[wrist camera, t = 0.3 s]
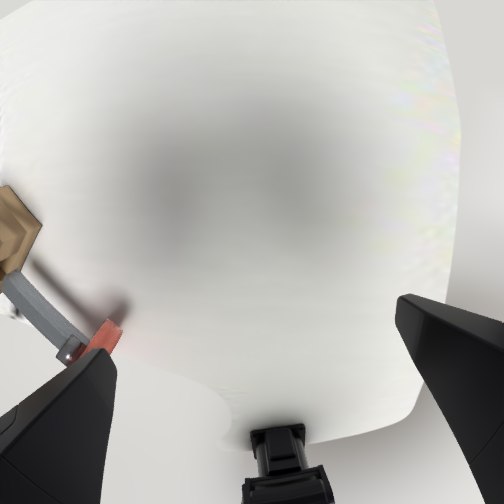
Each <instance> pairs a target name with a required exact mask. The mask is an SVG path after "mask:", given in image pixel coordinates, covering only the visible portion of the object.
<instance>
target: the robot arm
mask: <svg viewBox="0 0 504 504" xmlns="http://www.w3.org/2000/svg"><path fill="white" fill-rule="evenodd" d="M395 324H396V327H397V329H398V331H399V333H400V335H401V337H402V339H403V341H404V343H405V345H406V348H407V350H408V352H409V354H410V356H411V358H412V360H413V362H414V364H415V366H416V368H417V369H418V371H419V373H420V374H421V376H422V378H423V379H424V381H425V383H426V385H427V386H428V388H429V390H430V391H431V393H432V395H433V397H434V399H435V400H436V402H437V404H438V406H439V408H440V409H441V411H442V413H443V415H444V417H445V418H446V420H447V422H448V424H449V426H450V428H451V430H452V432H453V434H454V436H455V438H456V440H457V442H458V444H459V446H460V448H461V450H462V452H463V454H464V456H465V458H466V460H467V462H468V464H469V467H470V469H471V471H472V473H473V476H474V478H475V480H476V483H477V485H478V487H479V489H480V492H481V494H482V497H483V499H484V502H485V504H504V323H502V322H501V321H498V320H495V319H491V318H488V317H485V316H482V315H479V314H475V313H472V312H469V311H466V310H463V309H459V308H456V307H453V306H450V305H446V304H443V303H440V302H437V301H433V300H430V299H427V298H423V297H420V296H417V295H414V294H406V295H402V296H399V297H398V299H397V305H396V314H395ZM116 381H117V369H116V366H115V364H114V362H113V361H112V359H111V357H110V355H109V353H108V351H107V350H106V349H105V348H93V349H91V350H90V351H89V352H87V353H86V354H85V355H83V356H82V357H80V358H79V359H78V360H76V361H75V362H74V363H72V364H71V365H70V366H68V367H67V368H66V369H64V370H63V371H62V372H60V373H59V374H57V375H56V376H55V377H53V378H52V379H51V380H50V381H48V382H47V383H45V384H44V385H43V386H41V387H40V388H39V389H37V390H36V391H35V392H34V393H32V394H31V395H30V396H28V397H27V398H25V399H24V400H23V401H22V402H20V403H19V405H16V406H15V407H14V408H12V409H11V410H10V411H8V412H7V413H6V414H4V415H3V416H1V417H0V504H100V499H101V490H102V480H103V473H104V465H105V459H106V452H107V446H108V440H109V434H110V428H111V423H112V417H113V410H114V399H115V389H116ZM250 437H251V442H252V448H253V453H254V458H255V459H257V463H258V472H259V477H257V478H245V484H243V485H242V494H243V497H242V503H241V504H335V501H334V496H333V492H332V489H331V486H330V483H329V481H328V478H327V476H326V473H325V471H324V468H323V465H318V466H317V467H313V468H309V467H308V463H307V459H306V455H305V451H304V446H305V425H304V424H299V425H294V426H287V427H281V428H274V429H266V430H258V431H252V432H251V433H250Z"/></svg>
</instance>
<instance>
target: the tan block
mask: <svg viewBox="0 0 504 504" xmlns="http://www.w3.org/2000/svg"><path fill="white" fill-rule="evenodd" d="M40 228H41V225H40V224H39V223H38V221H37V220H36V219H35V218H34V217H33V216H32V214H31V213H30V212H29V211H28V210H27V209H26V207H25V206H24V205H23V204H22V203H21V201H20V200H19V199H18V198H17V196H16V195H15V194H14V193H13V191H12V190H11V189H10V188H9V186H3V187H0V294H1V293H2V291H1V286H2V283H3V280H4V277H5V275H6V274H8V273H10V272H11V271H13V270H15V269H16V268H18V270H19V271H20V270H21V268H22V265H23V263H24V261H25V259H26V256H27V254H28V252H29V250H30V248H31V246H32V244H33V242H34V240H35V238H36V236H37V234H38V232H39V230H40Z"/></svg>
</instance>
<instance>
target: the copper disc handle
mask: <svg viewBox="0 0 504 504" xmlns="http://www.w3.org/2000/svg"><path fill="white" fill-rule="evenodd" d="M1 291H2V292H3V293H4V294H5V295H6V296H7V298H8V299H9V300H10V301H11V302H12V303H13V304H14V305H15V307H16V308H17V309H18V310H19V311H20V312H21V313H22V314H23V315H24V316H25V317H26V318H27V319H28V320H29V321H30V322H31V323H32V324H33V325H34V326H35V327H36V328H37V329H38V330H39V331H40V332H41V333H42V334H43V335H44V336H45V337H46V338H47V339H48V340H49V341H50V342H51V343H52V344H53V345H55V346H56V347H57V348H58V349H59V352H58V353H57V355H56V358H57V359H58V360H60V361H61V362H62V363H63V364H64V365H65V366H67V367H68V366H70V365H71V364H72V363H74V362H75V361H76V360H78V359H79V358H80V357H82V356H83V355H85V354H86V353H87V352H89V351H90V350H91V349H93V348H105V349H106V350H107V351H108V353H109V355H110V354H111V353H112V351H113V349H114V348H115V346H116V344H117V343H118V341H119V339H120V337H121V335H122V333H123V330H122V329H121V328H119V327H118V326H117V325H116V324H115V323H113V322H112V321H111V320H110V319H109V318H107V319H106V321H105V322H104V323H103V324H102V326H101V327H100V328H99V329H98V331H97V332H96V333H95V335H94V336H93V337H92V339H91V340H89V339H88V338H87V337H86V336H85V335H84V334H83V333H81V332H80V331H79V330H78V329H77V328H76V327H75V326H73V325H72V324H71V323H70V322H69V321H68V320H67V319H66V318H65V317H64V316H63V315H62V314H61V313H59V312H58V311H57V310H56V309H55V308H54V307H53V306H52V305H51V304H50V303H49V302H48V301H47V300H46V299H45V298H44V297H43V296H42V295H41V294H40V293H39V292H38V290H37V289H36V288H35V287H34V286H33V285H32V284H31V283H30V282H29V281H28V280H27V279H26V277H25V276H24V275H23V274H22V273H21V272H20V271H19V270H18V268H16V269H15V270H13V271H11V272H10V273H8V274H6V275H5V277H4V280H3V283H2V286H1Z"/></svg>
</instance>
